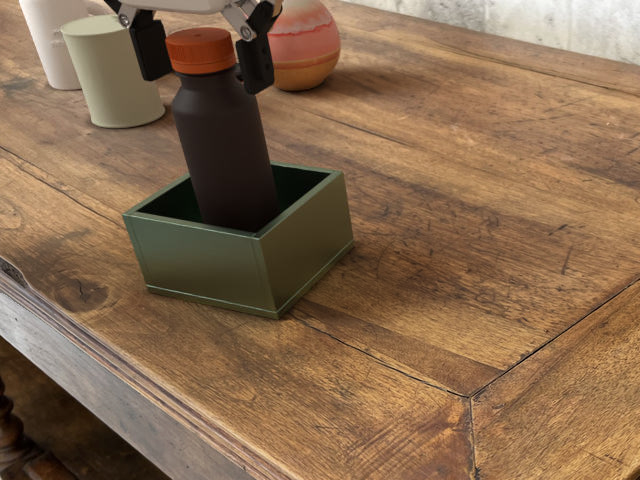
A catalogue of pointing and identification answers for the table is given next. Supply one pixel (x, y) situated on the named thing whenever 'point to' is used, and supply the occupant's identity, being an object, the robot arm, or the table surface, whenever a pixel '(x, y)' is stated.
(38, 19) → the mug
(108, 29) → the can
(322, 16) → the vase
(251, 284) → the green open box
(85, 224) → the table surface
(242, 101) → the vinegar
